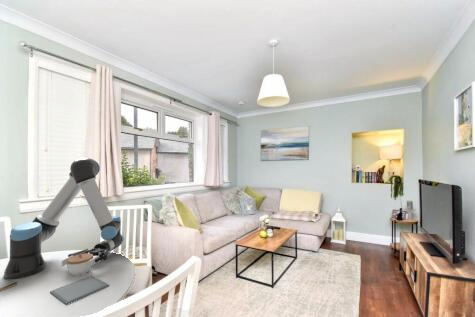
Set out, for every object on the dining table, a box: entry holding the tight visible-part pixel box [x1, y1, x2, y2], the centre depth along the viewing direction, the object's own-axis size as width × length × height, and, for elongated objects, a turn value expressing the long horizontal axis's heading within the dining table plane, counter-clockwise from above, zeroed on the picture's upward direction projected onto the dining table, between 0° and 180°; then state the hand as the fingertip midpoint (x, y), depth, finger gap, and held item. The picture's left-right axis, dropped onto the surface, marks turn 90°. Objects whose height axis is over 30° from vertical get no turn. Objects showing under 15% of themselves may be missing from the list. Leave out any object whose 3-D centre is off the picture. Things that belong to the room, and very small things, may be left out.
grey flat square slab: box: [49, 275, 110, 306], centre depth 96 cm, size 16×16×1 cm
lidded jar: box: [66, 253, 94, 277], centre depth 112 cm, size 11×11×9 cm
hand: (75, 263), depth 109 cm, fingers open, 13 cm apart
